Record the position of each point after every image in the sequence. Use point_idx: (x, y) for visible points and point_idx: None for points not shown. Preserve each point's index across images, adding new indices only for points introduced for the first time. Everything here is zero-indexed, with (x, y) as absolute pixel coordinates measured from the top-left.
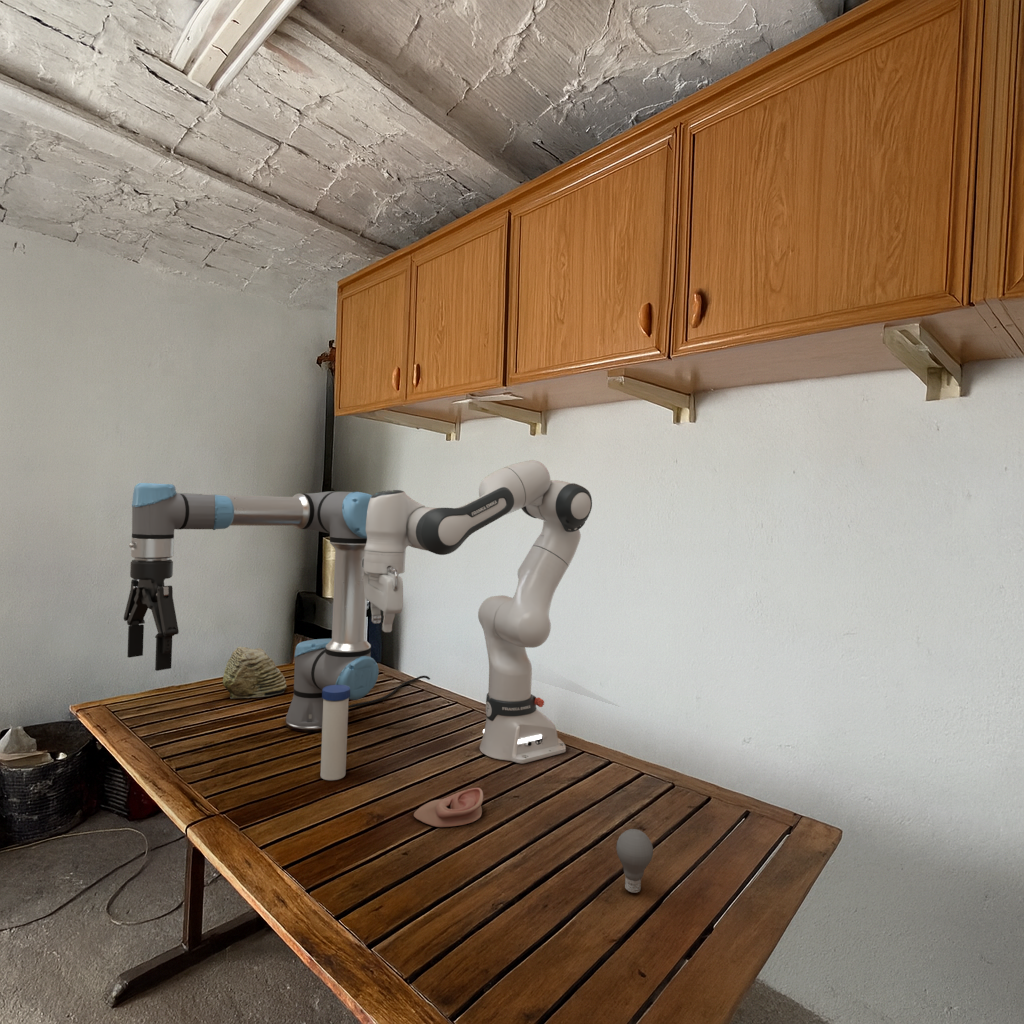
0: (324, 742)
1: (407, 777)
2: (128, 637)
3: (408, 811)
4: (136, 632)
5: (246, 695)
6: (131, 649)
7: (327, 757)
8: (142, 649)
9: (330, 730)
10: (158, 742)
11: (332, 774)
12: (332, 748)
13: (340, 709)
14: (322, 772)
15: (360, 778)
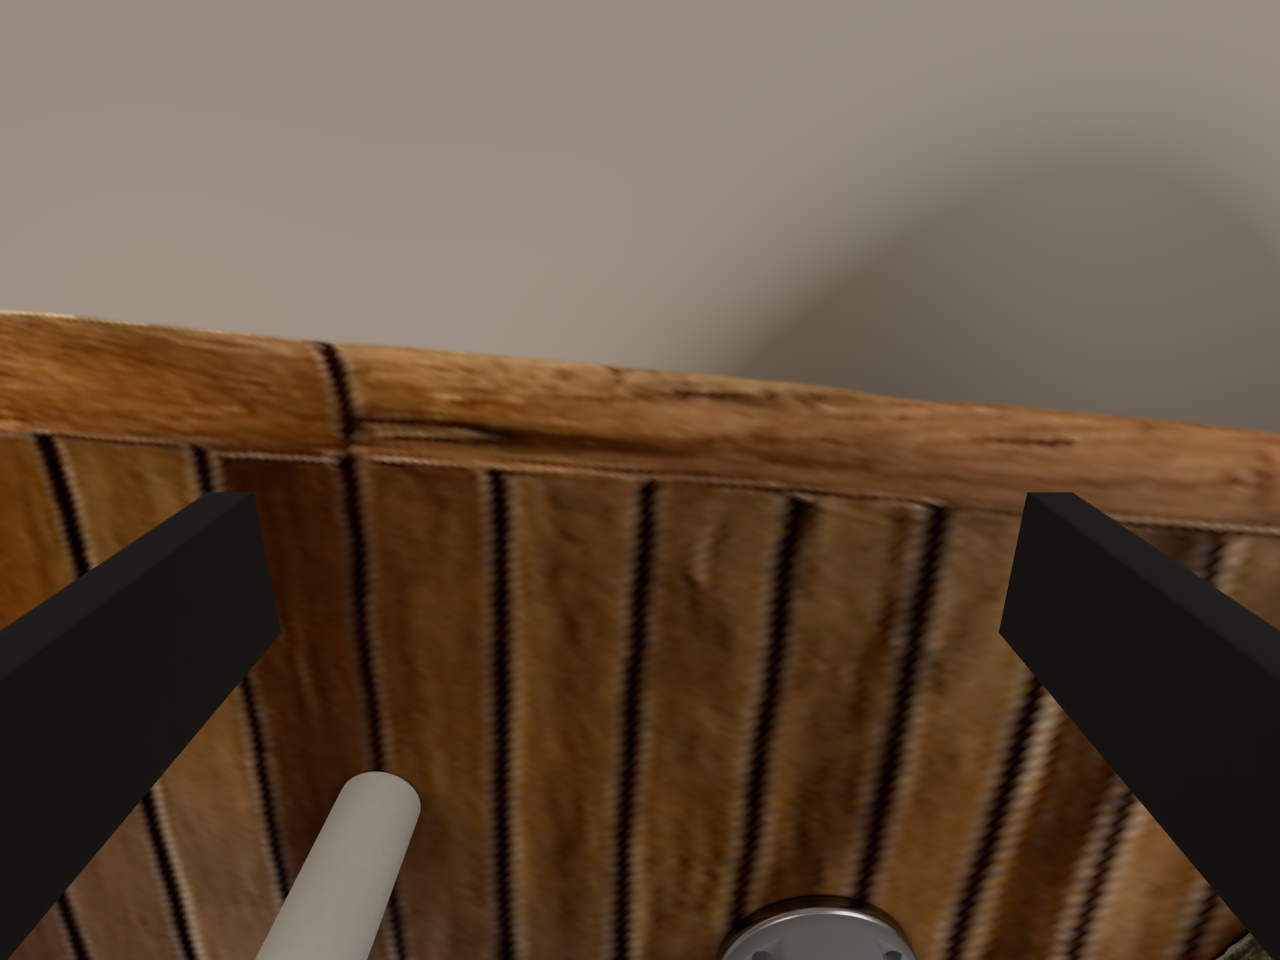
0: (323, 876)
1: (227, 916)
2: (1259, 629)
3: None
4: (1239, 782)
5: (1242, 953)
6: (1075, 561)
7: (328, 834)
8: (1036, 671)
9: (276, 930)
10: None
11: (338, 797)
12: (301, 871)
13: None
14: (370, 786)
15: (306, 838)
